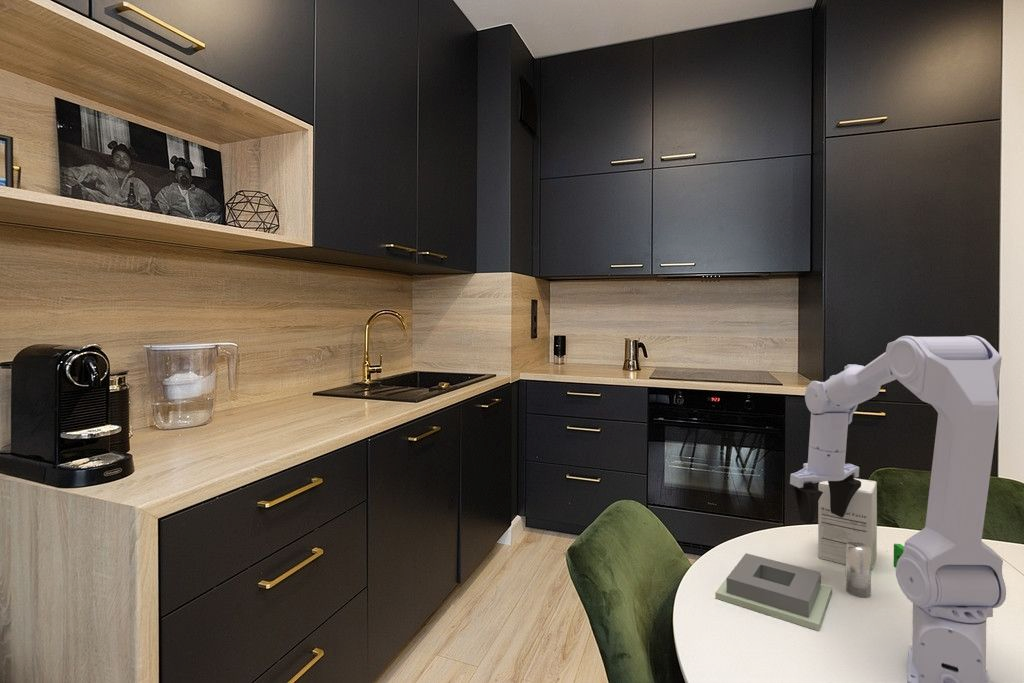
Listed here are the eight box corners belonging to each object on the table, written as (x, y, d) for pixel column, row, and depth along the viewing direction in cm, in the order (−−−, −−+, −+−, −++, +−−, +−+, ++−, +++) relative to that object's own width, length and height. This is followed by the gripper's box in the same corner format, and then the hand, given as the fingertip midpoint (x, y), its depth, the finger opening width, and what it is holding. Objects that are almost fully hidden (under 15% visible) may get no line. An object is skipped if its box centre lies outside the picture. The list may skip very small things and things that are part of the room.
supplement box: (825, 543, 106) (825, 472, 106) (877, 555, 100) (878, 480, 100) (816, 558, 99) (816, 482, 99) (872, 572, 94) (872, 492, 93)
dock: (819, 631, 75) (819, 607, 75) (715, 598, 85) (715, 577, 85) (831, 592, 86) (832, 572, 86) (738, 567, 96) (738, 549, 96)
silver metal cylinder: (870, 600, 84) (870, 552, 84) (844, 593, 86) (845, 546, 86) (871, 591, 87) (872, 545, 86) (847, 585, 89) (847, 540, 89)
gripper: (836, 436, 98) (831, 503, 99) (778, 444, 93) (773, 514, 95) (872, 447, 91) (866, 519, 93) (811, 457, 86) (806, 532, 88)
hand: (822, 518), depth 93 cm, fingers open, 7 cm apart
